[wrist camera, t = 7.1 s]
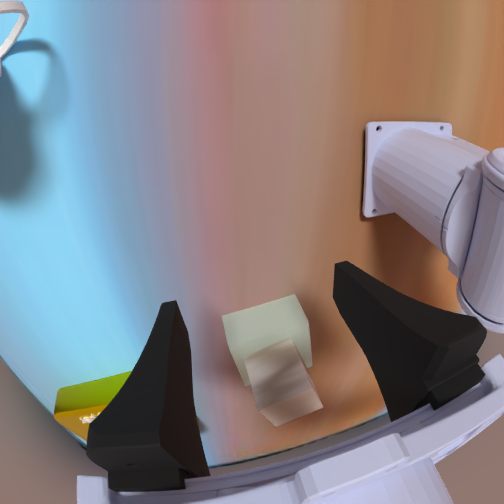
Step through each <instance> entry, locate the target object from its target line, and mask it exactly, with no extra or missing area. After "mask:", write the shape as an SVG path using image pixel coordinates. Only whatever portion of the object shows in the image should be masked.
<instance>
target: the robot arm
mask: <svg viewBox="0 0 504 504" xmlns="http://www.w3.org/2000/svg"><path fill="white" fill-rule="evenodd" d="M377 126H379V130H378V131H376V127H377ZM440 127H441V129H440ZM373 209H375V210H374V211H373V212H372V210H373ZM362 212H363V215H364V216H365V217H367V218H369V217H374V216H379V215H385V214H390V213H396V214H397V215H399V216H400V217H401V218H402V219H404V220H405V221H406V222H407V223H409V224H410V225H411V226H412V227H413V228H415V229H416V230H417V231H418V232H419V233H421V234H422V235H423V236H424V237H425V238H426V239H428V240H429V241H430V242H431V243H432V244H433V245H434V246H436V247H437V248H438V249H439V250H440V251H441V252H442V253H443V254H445V255H446V256H447V257H448V260H449V265H448V269H449V270H450V271H451V272H452V273H453V274H454V275H455V276H456V277H457V278H458V282H457V288H456V292H457V298H458V301H459V303H460V305H461V307H462V309H463V310H464V312H465V313H466V314H467V315H463V314H457V313H453V312H449V311H445V310H442V309H439V308H436V307H433V306H430V305H427V304H424V303H422V302H419V301H417V300H415V299H412V298H410V297H408V296H406V295H404V294H402V293H400V292H398V291H396V290H394V289H392V288H391V287H389V286H387V285H385V284H384V283H382V282H380V281H379V280H377V279H375V278H374V277H372V276H370V275H369V274H367V273H366V272H364V271H363V270H361V269H359V268H358V267H356V266H355V265H353V264H351V263H350V262H348V261H344V262H340V263H336V264H335V270H334V287H333V299H334V301H335V303H336V306H337V308H338V310H339V312H340V314H341V316H342V318H343V319H344V321H345V323H346V324H347V326H348V327H349V329H350V331H351V332H352V334H353V335H354V337H355V339H356V340H357V342H358V343H359V345H360V347H361V348H362V350H363V352H364V354H365V355H366V357H367V359H368V362H369V364H370V366H371V368H372V370H373V373H374V375H375V378H376V380H377V382H378V385H379V387H380V390H381V393H382V396H383V398H384V401H385V404H386V407H387V410H388V413H389V417H390V420H391V423H389V424H387V425H384V426H382V427H380V428H377V429H375V430H373V431H370V432H368V433H366V434H363V435H361V436H358V437H356V438H353V439H351V440H348V441H345V442H342V443H340V444H337V445H334V446H331V447H328V448H326V449H323V450H319V451H316V452H313V453H310V454H307V455H303V456H300V457H296V458H293V459H289V460H285V461H282V462H278V463H274V464H270V465H266V466H261V467H257V468H253V469H248V470H242V471H237V472H232V473H226V474H220V475H214V476H210V473H209V469H208V465H207V462H206V458H205V454H204V450H203V446H202V441H201V437H200V432H199V427H198V422H197V417H196V412H195V406H194V398H193V384H192V362H191V348H190V342H189V335H188V331H187V328H186V326H185V323H184V320H183V318H182V315H181V312H180V310H179V307H178V304H177V302H176V300H175V301H170V302H165V303H162V305H161V307H160V310H159V313H158V316H157V319H156V321H155V324H154V327H153V329H152V331H151V334H150V336H149V339H148V341H147V343H146V345H145V347H144V350H143V352H142V354H141V356H140V358H139V360H138V362H137V363H136V365H135V367H134V369H133V370H132V372H131V374H130V375H129V377H128V378H127V380H126V381H125V383H124V385H123V386H122V387H121V389H120V390H119V392H118V393H117V394H116V395H115V397H114V398H113V399H112V400H111V402H110V403H109V404H108V405H107V406H106V408H105V409H104V410H103V411H102V412H101V413H100V414H99V415H98V416H97V417H96V418H95V419H94V420H93V421H92V422H91V423H90V424H89V429H88V434H87V451H86V454H87V456H88V458H89V459H90V460H91V461H93V462H94V463H95V464H97V465H99V466H100V467H102V468H103V469H105V470H107V471H108V478H105V477H100V476H82V475H79V476H77V504H454V503H453V501H452V499H451V497H450V495H449V493H448V491H447V489H446V487H445V485H444V483H443V481H442V479H441V477H440V475H439V473H438V471H437V469H436V467H435V465H434V464H435V463H437V462H438V461H440V460H442V459H443V458H445V457H446V456H447V455H449V454H451V453H452V452H454V451H455V450H456V449H458V448H459V447H461V446H462V445H463V444H465V443H466V442H468V441H469V440H470V439H472V438H473V437H474V436H476V435H477V434H478V433H480V432H481V431H482V430H483V429H485V428H486V427H487V426H489V425H490V424H491V423H492V422H494V421H495V420H496V419H497V418H499V417H500V416H501V415H502V414H503V413H504V359H503V357H502V356H501V355H500V354H497V355H496V356H494V357H493V358H492V359H490V360H489V361H487V362H486V363H485V364H484V365H483V366H482V367H480V366H479V365H478V362H479V358H478V357H477V355H476V354H477V352H478V350H479V349H480V347H481V345H482V344H483V342H484V340H485V338H486V334H487V330H490V331H493V332H497V333H503V334H504V148H497V149H494V150H493V151H491V152H489V151H487V150H485V149H483V148H481V147H479V146H476V145H474V144H472V143H469V142H467V141H465V140H462V139H460V138H458V137H455V136H453V135H452V126H451V124H449V123H445V122H413V121H386V122H369V123H368V124H367V125H366V142H365V176H364V196H363V211H362ZM486 329H487V330H486Z"/></svg>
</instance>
